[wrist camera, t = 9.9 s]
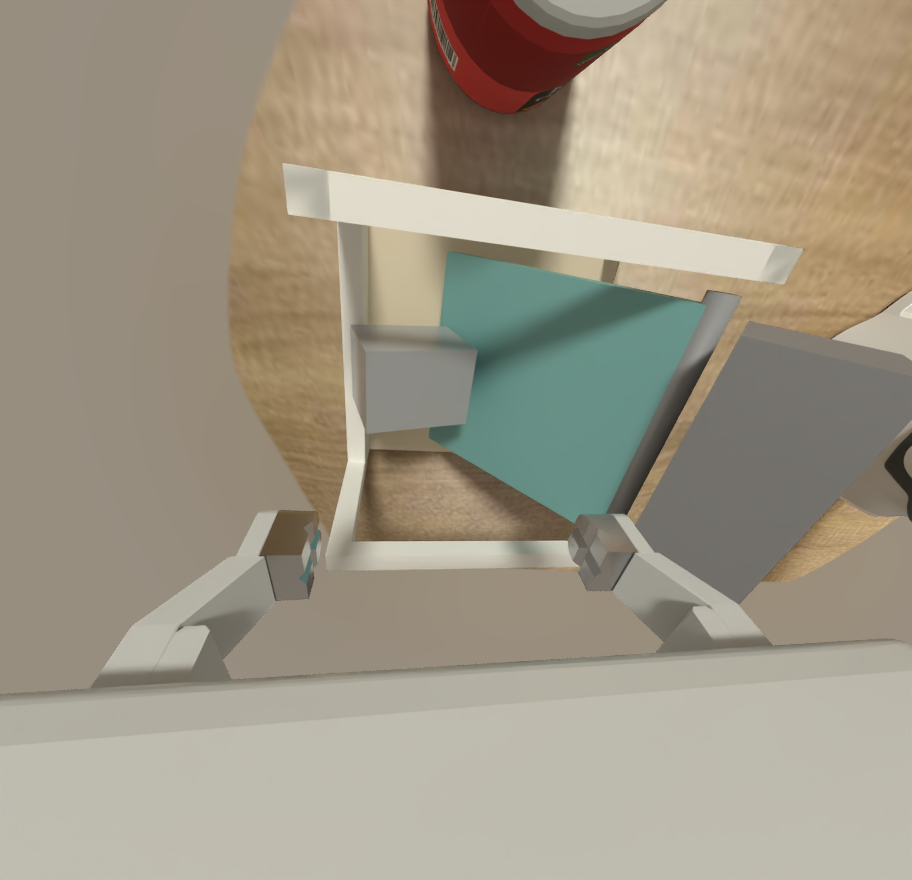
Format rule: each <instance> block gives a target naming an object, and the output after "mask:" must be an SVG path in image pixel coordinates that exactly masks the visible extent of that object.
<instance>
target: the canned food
mask: <svg viewBox="0 0 912 880" xmlns="http://www.w3.org/2000/svg"><path fill="white" fill-rule="evenodd" d="M665 1H666V0H428V6H429V12H430V19H431V25H432V29H433V33H434V36H435V40H436V43H437V47H438V50H439V52H440V54H441V56H442V59H443V61H444V63H445V65H446V67H447V69H448V71H449V72H450V74H451V75H452V77H453V78H454V80H455V81H456V83H457V84H458V86H459V87H460V88H461V89H462V90H463V91H464V92H465V93H466V94H467V95H468V96H469V97H470V98H471V99H473V100H474V101H476V102H477V103H478V104H480V105H481V106H483V107H485V108H488V109H490V110H493V111H496V112H502V113H517V112H523V111H527V110H529V109H531V108H533V107H536V106H538V105H540V104H541V103H542V102H544V101H545V100H546V99H548V98H549V97H550V96H551V95H553V94H554V93H555V92H556V91H558V90H559V89H560V88H561V87H563V86H564V85H565V84H566V83H568V82H569V81H570V80H571V79H573V78H574V77H575V76H576V75H578V74H579V73H580V72H581V71H583V70H584V69H585V68H586V67H588V66H589V65H590V64H591V63H593V62H594V61H595V60H596V59H598V58H599V57H600V56H601V55H603V54H604V53H605V52H606V51H608V50H609V49H610V48H611V47H613V46H614V45H615V44H616V43H618V42H619V41H620V40H621V39H623V38H624V37H625V36H626V35H628V34H629V33H630V32H631V31H633V30H634V29H635V28H636V27H638V26H639V25H640V24H641V23H642V22H643V21H644V20H645V19H646V18H647V17H649V16H650V15H651V14H652V13H653V12H655V11H656V10H657V9H658V8H660V7H661V6H662V5H663V4H664V3H665Z"/></svg>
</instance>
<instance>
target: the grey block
mask: <svg viewBox="0 0 912 880" xmlns="http://www.w3.org/2000/svg"><path fill="white" fill-rule="evenodd" d="M350 333H351V362H352V392H353V399H354V402H355V404H356V407H357V410H358V412H359V415H360V418H361V421H362V423H363V426H364V429H365V431H366V434H369V433H379V432H389V431H399V430H409V429H419V428H429V427H438V426H448V425H458V424H466V419H467V412H468V406H469V400H470V394H471V388H472V382H473V376H474V369H475V363H476V357H477V350H476V349H475V348H474V347H472V346H471V345H470V344H468V343H467V342H466V341H465V340H463V339H462V338H461V337H459V336H458V335H457V334H456V333H454V332H453V331H452V330H450V329H449V328H448V327H447V326H400V325H351V324H350Z"/></svg>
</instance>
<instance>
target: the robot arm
mask: <svg viewBox="0 0 912 880" xmlns="http://www.w3.org/2000/svg"><path fill="white" fill-rule="evenodd" d="M832 339H834V340H838V341H843V342H847V343H852V344H857V345H861V346H866V347H870V348H875V349H880V350H884V351H889V352H893V353H898V354H902V355H904V356H905V357H907V358H908V359H910V360H911V361H912V291H910V292H909V293H907V294H906V295H904V296H903V297H902V298H900V299H899V300H897V301H896V302H895V303H893V304H892V305H891V306H890V307H888V308H887V309H886V310H884V311H883V312H882V313H880V314H878V315H877V316H875V317H873V318H871V319H869V320H867V321H864V322H862V323H860V324H858V325H856V326H853V327H851V328H849V329H847V330H846V331H844V332H842V333H840V334H839V335H837V336H835V337H834V338H832ZM839 498H840V499H842V500H843V501H845V502H847V503H849V504H850V505H852V506H854V507H856V508H857V509H859V510H861V511H863V512H865V513H867V514H869V515H872V516H876V517H877V516H887V517H891V516H908V517H909V519H910V520H911V522H912V420H911V421H910V422H909V423H908V424H907V426H906V427H905V428H904V429H903V430H902V431H901V432H900V433H899V434H898V435H897V436H896V437H895V438H894V439H893V441H892V442H891V443H890V444H889V445H888V446H887V447H886V448H885V449H884V450H883V451H882V452H881V453H880V454H879V455H878V457H877V458H876V459H875V460H874V461H873V462H872V463H871V464H870V465H869V466H868V467H867V468H866V469H865V470H864V471H863V473H862V474H861V475H860V476H859V477H858V478H857V479H856V480H855V481H854V482H853V483H852V484H851V485H850V486H849V487H848V489H847V490H846V491H845V492H844V493H843V494H842V495H841V496H840V497H839ZM575 523H576V525H577V528H576V529H574V530H573V531H572V532H571V533H570V536H569V539H568V549H569V554H570V556H571V558H572V561H573V562H575V563H576V564H577V565H578V566H580V568H579V572H578V573H579V575H580V577H581V579H582V582H583V583H584V585H585V588H586V590H587V591H612V593H613V594H614V595H615V596H616V597H617V598H618V599H619V600H620V601H621V602H622V603H623V604H625V605H626V606H627V607H628V608H629V609H630V610H631V611H632V612H633V613H634V614H635V615H636V616H637V617H638V618H639V619H640V620H641V621H642V622H643V623H644V624H646V625H647V626H648V627H649V628H650V629H651V630H652V631H653V632H654V633H655V634H656V635H657V636H658V637H659V638H660V639H661V640H662V641H663V642H664V643H663V644H662V645H661V647H660V648H659V649H658V650H657V651H656V653H649V654H648V653H647V654H632V655H615V656H600V657H583V658H567V659H551V660H535V661H518V662H503V663H489V664H488V663H487V664H471V665H456V666H440V667H424V668H410V669H409V668H408V669H393V670H377V671H361V672H345V673H329V674H313V675H298V676H282V677H266V678H251V679H250V678H249V679H233V680H231V678H230V675H229V673H228V671H227V669H226V666H225V664H224V662H223V659H224V658H225V657H226V656H227V655H228V654H229V653H230V652H231V650H232V649H233V648H234V647H235V646H236V645H237V644H238V643H239V642H240V640H242V638H243V637H244V636H245V635H246V634H247V633H248V632H249V631H250V630H251V629H252V628H253V627H254V625H256V623H257V622H258V621H259V620H260V619H261V618H262V617H263V616H264V615H265V614H266V613H267V612H268V610H269V609H270V608H271V607H272V606H273V605H274V604H275V603H276V602H275V601H281V600H299V599H309V595H310V592H311V588H312V584H313V580H314V572H313V568H314V567H315V566H316V565H317V564H318V561H319V557H320V550H321V532H320V531H319V530H318V529H317V528H318V524H319V515H318V512H317V511H291V510H280V511H279V510H261V511H260V512H259V513H258V514H257V515H256V517H255V519H254V521H253V523H252V525H251V527H250V529H249V531H248V533H247V535H246V537H245V539H244V541H243V543H242V545H241V547H240V549H239V551H238V552H237V554H236V556H235V557H228V558H227V559H226V560H224V561H223V562H221V563H220V564H219V565H218V566H216V567H214V568H213V569H212V570H210V571H209V572H207V573H206V574H204V575H203V576H202V577H200V578H199V579H198V580H196V581H195V582H193V583H192V584H190V585H189V586H188V587H186V588H185V589H184V590H182V591H181V592H179V593H178V594H176V595H175V596H174V597H172V598H171V599H170V600H168V601H167V602H165V603H164V604H162V605H161V606H160V607H158V608H157V609H155V610H154V611H153V612H151V613H150V614H148V615H147V616H146V617H144V618H143V619H141V620H140V621H138V622H137V623H136V624H134V625H133V626H132V627H131V628H130V630H129V631H128V633H127V634H126V636H125V637H124V639H123V640H122V641H121V643H120V644H119V646H118V648H117V649H116V650H115V652H114V653H113V655H112V656H111V658H110V659H109V661H108V662H107V664H106V665H105V667H104V668H103V670H102V671H101V673H100V674H99V676H98V677H97V679H96V680H95V681H94V683H93V685H92V686H91V688H88V689H71V690H55V691H38V692H24V693H7V694H0V880H912V645H911V644H909V643H907V642H903V641H901V640H895V639H869V640H855V641H838V642H824V643H823V642H822V643H806V644H790V645H775V646H773V645H772V644H771V643H770V642H769V640H768V639H767V638H766V637H765V636H764V635H763V633H762V632H761V631H760V630H759V629H758V627H757V626H756V625H755V624H754V623H753V622H752V620H751V619H750V618H749V617H748V616H747V615H746V613H745V612H744V611H743V610H742V609H741V607H740V606H739V605H738V604H737V603H736V602H734V601H732V600H731V599H729V598H728V597H726V596H725V595H723V594H722V593H720V592H719V591H717V590H716V589H714V588H712V587H711V586H709V585H708V584H706V583H705V582H703V581H702V580H700V579H699V578H697V577H696V576H694V575H692V574H691V573H689V572H688V571H686V570H685V569H683V568H682V567H680V566H679V565H677V564H676V563H674V562H672V561H671V560H669V559H668V558H666V557H665V556H663V555H662V554H660V553H654V551H653V550H652V548H651V547H650V546H649V544H648V543H647V542H646V540H645V539H644V538H643V536H642V535H641V533H640V532H639V531H638V529H637V528H636V527H635V525H634V524H633V523H632V521H631V520H630V518H629V517H628V516H627V515H625V514H580V515H579V516H578V517H577V519H576V521H575Z"/></svg>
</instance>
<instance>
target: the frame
mask: <svg viewBox="0 0 912 880" xmlns="http://www.w3.org/2000/svg"><path fill="white" fill-rule="evenodd" d="M283 172H284V182H285V191H286V200H287V209H288V214H290V215H297V216H304V217H311V218H318V219H325V220H332V221H337V231H338V252H339V274H340V296H341V318H342V339H343V361H344V383H345V405H346V426H347V448H348V463H347V468H346V472H345V476H344V480H343V484H342V488H341V493H340V497H339V501H338V505H337V509H336V513H335V518H334V522H333V526H332V530H331V534H330V539H329V543H328V547H327V551H326V555H325V560H326V569H327V571H369V570H370V571H372V570H373V571H374V570H430V569H487V568H543V567H580V566H578V565H577V564H576V563H575V562H573V561H572V558H571V556H570V554H569V549H568V541H381V542H354V541H355V535H356V528H357V522H358V516H359V510H360V504H361V497H362V491H363V485H364V479H365V473H366V467H367V460H368V454H369V449H383V450H409V451H434V452H452V451H450V450H448V449H447V448H445V447H443V446H441V445H440V444H438V443H436V442H435V441H433V440H431V439H430V438H429V429H430V427H429V428H419V429H409V430H399V431H389V432H379V433H369V434H366V431H365V429H364V426H363V423H362V421H361V418H360V415H359V412H358V410H357V407H356V404H355V402H354V399H353V392H352V362H351V333H350V324H351V325H400V326H440V320H441V310H442V300H443V290H444V280H445V270H446V260H447V251H451V252H461V253H466V254H471V255H476V256H480V257H485V258H490V259H495V260H500V261H505V262H509V263H514V264H519V265H524V266H529V267H534V268H538V269H543V270H548V271H553V272H558V273H563V274H567V275H572V276H577V277H582V278H587V279H592V280H596V281H601V282H606V283H611V284H612V283H613V280H614V277H615V274H616V271H617V268H618V265H619V262H620V261H621V262H628V263H635V264H642V265H649V266H656V267H663V268H670V269H677V270H685V271H692V272H699V273H706V274H713V275H720V276H727V277H734V278H741V279H748V280H755V281H762V282H769V283H776V284H783V285H784V283H785V281H786V279H787V278H788V276H789V274H790V272H791V271H792V269H793V267H794V266H795V264H796V262H797V260H798V259H799V257H800V255H801V253H802V252H803V250H804V249H803V248H797V247H791V246H785V245H779V244H773V243H766V242H760V241H754V240H748V239H742V238H736V237H730V236H724V235H718V234H712V233H706V232H699V231H693V230H687V229H681V228H675V227H669V226H663V225H657V224H651V223H645V222H639V221H632V220H626V219H620V218H614V217H608V216H602V215H596V214H590V213H584V212H578V211H572V210H566V209H559V208H553V207H547V206H541V205H535V204H529V203H523V202H517V201H511V200H505V199H499V198H492V197H486V196H480V195H474V194H468V193H462V192H456V191H450V190H444V189H438V188H432V187H425V186H419V185H413V184H407V183H401V182H395V181H389V180H383V179H377V178H371V177H365V176H358V175H352V174H346V173H340V172H334V171H328V170H322V169H316V168H310V167H304V166H298V165H292V164H285V163H283Z"/></svg>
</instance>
